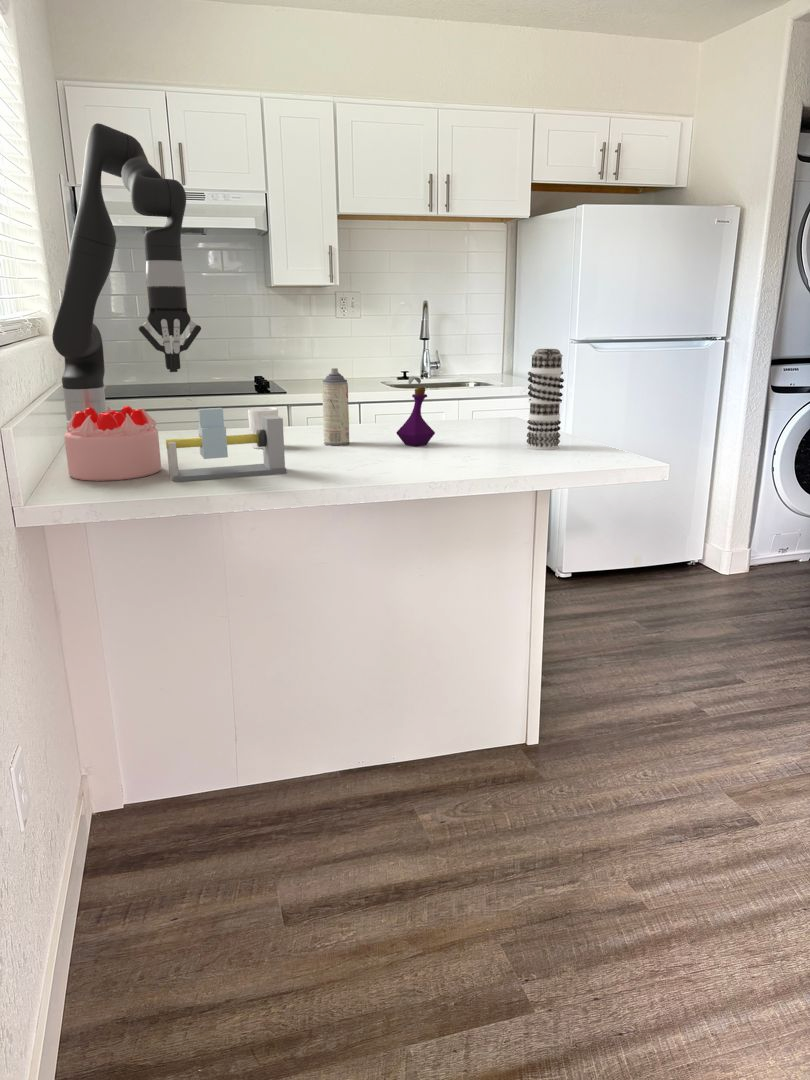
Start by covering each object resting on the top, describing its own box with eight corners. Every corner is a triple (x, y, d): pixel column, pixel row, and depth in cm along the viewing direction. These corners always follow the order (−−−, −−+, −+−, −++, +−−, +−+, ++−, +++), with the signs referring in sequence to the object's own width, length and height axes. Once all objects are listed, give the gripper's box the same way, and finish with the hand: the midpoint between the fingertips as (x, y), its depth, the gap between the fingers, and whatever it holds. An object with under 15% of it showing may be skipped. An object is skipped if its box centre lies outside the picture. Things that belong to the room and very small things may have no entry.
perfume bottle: (416, 441, 217) (416, 374, 212) (435, 444, 212) (435, 376, 207) (395, 444, 212) (395, 376, 207) (415, 448, 207) (414, 378, 202)
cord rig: (171, 482, 167) (166, 425, 164) (167, 475, 174) (162, 420, 171) (286, 473, 176) (283, 418, 173) (278, 466, 183) (275, 414, 180)
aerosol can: (353, 444, 213) (351, 368, 207) (329, 446, 210) (327, 369, 204) (343, 441, 218) (341, 367, 213) (320, 443, 215) (317, 368, 210)
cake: (59, 471, 180) (51, 408, 176) (146, 461, 191) (141, 402, 187) (82, 485, 165) (74, 417, 161) (175, 474, 176) (170, 409, 172)
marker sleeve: (204, 459, 169) (200, 411, 166) (200, 454, 175) (196, 407, 172) (227, 457, 171) (224, 409, 168) (223, 452, 177) (219, 406, 174)
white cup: (244, 448, 208) (242, 410, 205) (258, 443, 215) (256, 406, 212) (271, 450, 205) (269, 411, 203) (284, 445, 213) (283, 407, 210)
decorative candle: (523, 444, 211) (526, 348, 204) (558, 444, 211) (562, 348, 204) (526, 450, 203) (530, 350, 196) (563, 450, 202) (568, 349, 195)
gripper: (133, 284, 155) (141, 374, 160) (201, 284, 160) (208, 372, 165) (130, 285, 162) (139, 371, 167) (196, 285, 166) (203, 369, 171)
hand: (173, 371), depth 166 cm, fingers closed
